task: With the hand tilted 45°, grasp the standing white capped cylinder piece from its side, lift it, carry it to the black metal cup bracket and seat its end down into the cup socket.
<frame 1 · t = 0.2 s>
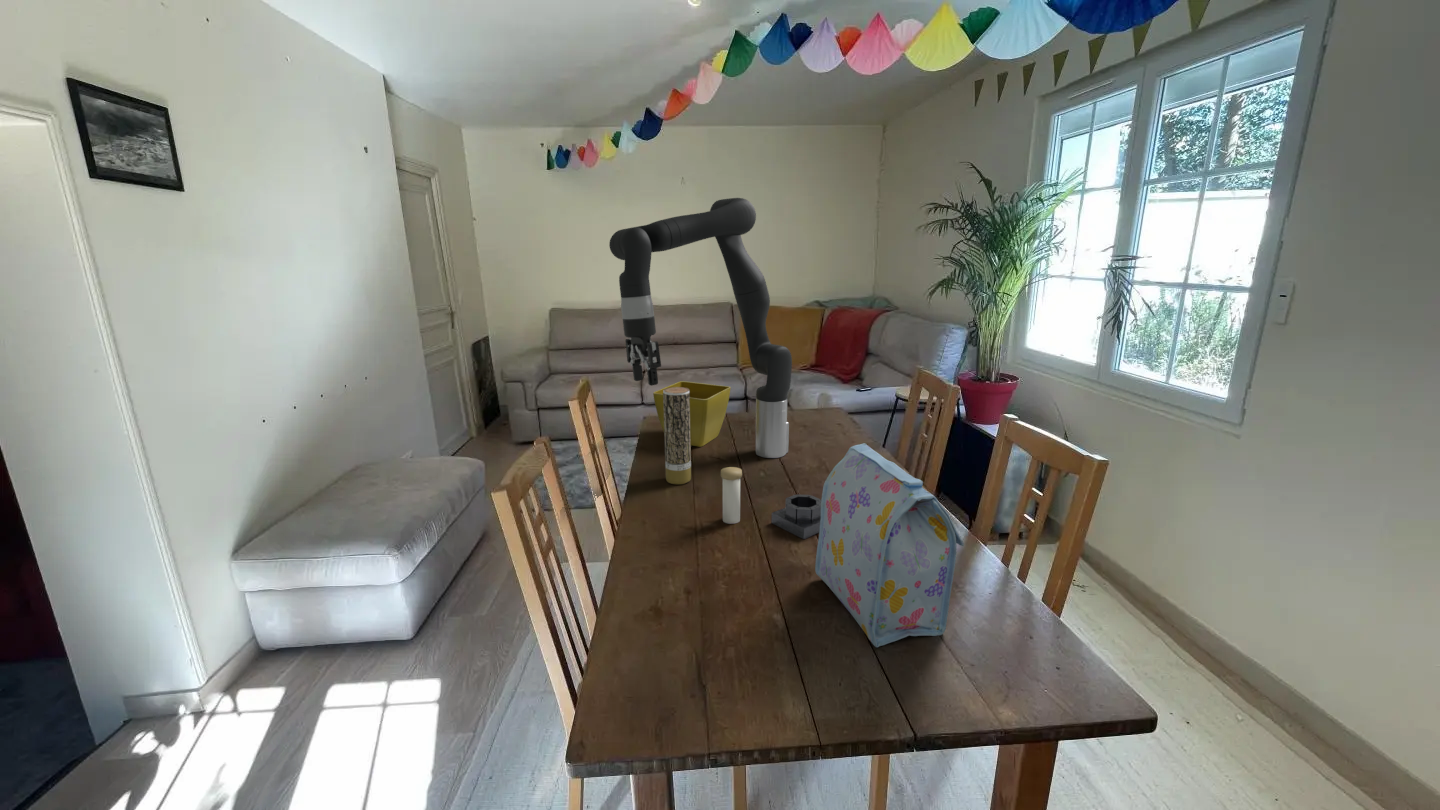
hand: (645, 382, 142), 29 cm above the table, tool pointing down, fingers open, 8 cm apart
white capped cylinder piece: (731, 519, 134), on the table
flower pot: (693, 439, 191), on the table
cup bracket: (802, 524, 132), on the table
paper tube: (678, 481, 157), on the table
lunch bag: (880, 606, 102), on the table
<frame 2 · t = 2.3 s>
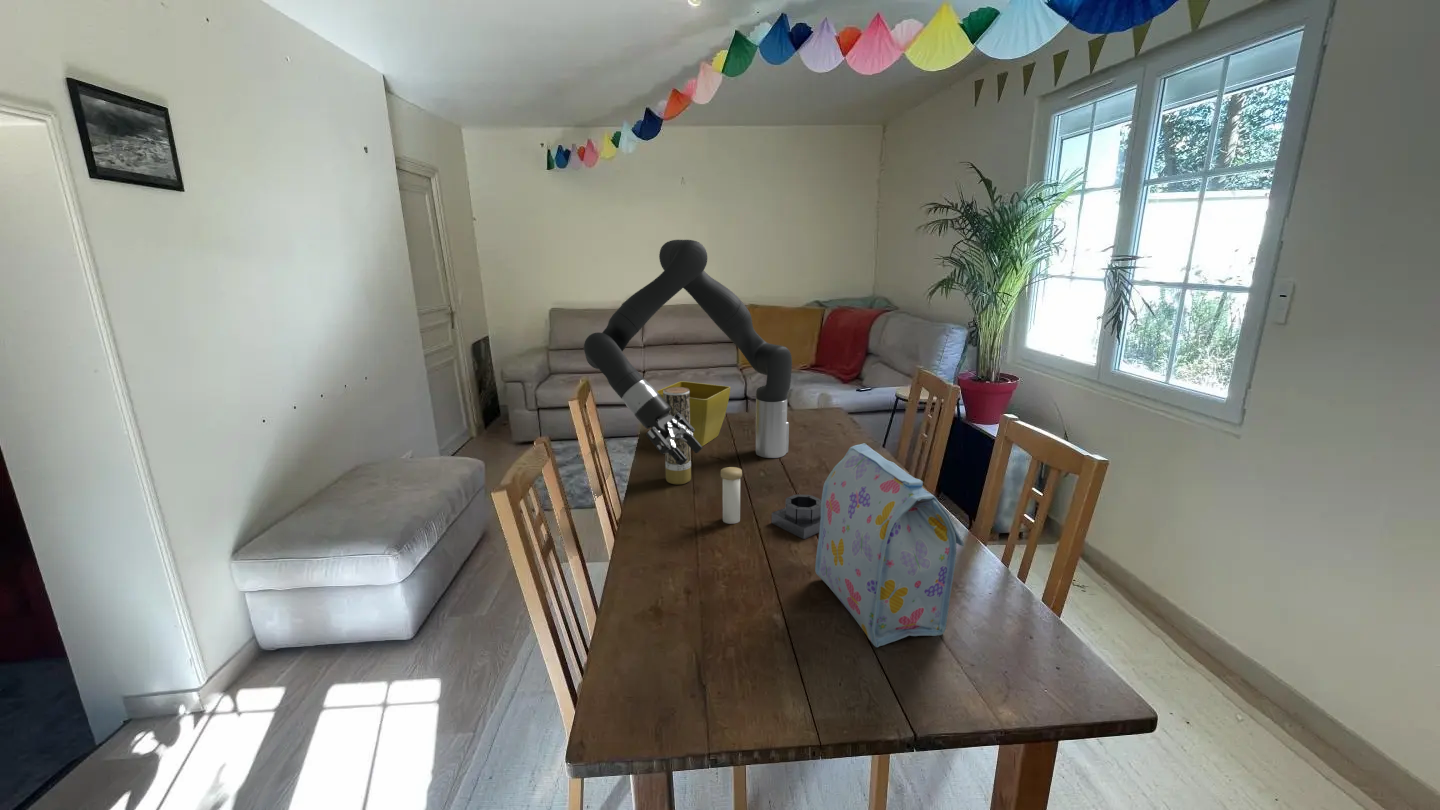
hand: (692, 456, 134), 14 cm above the table, tool tilted 45°, fingers open, 8 cm apart
nothing on the table moved.
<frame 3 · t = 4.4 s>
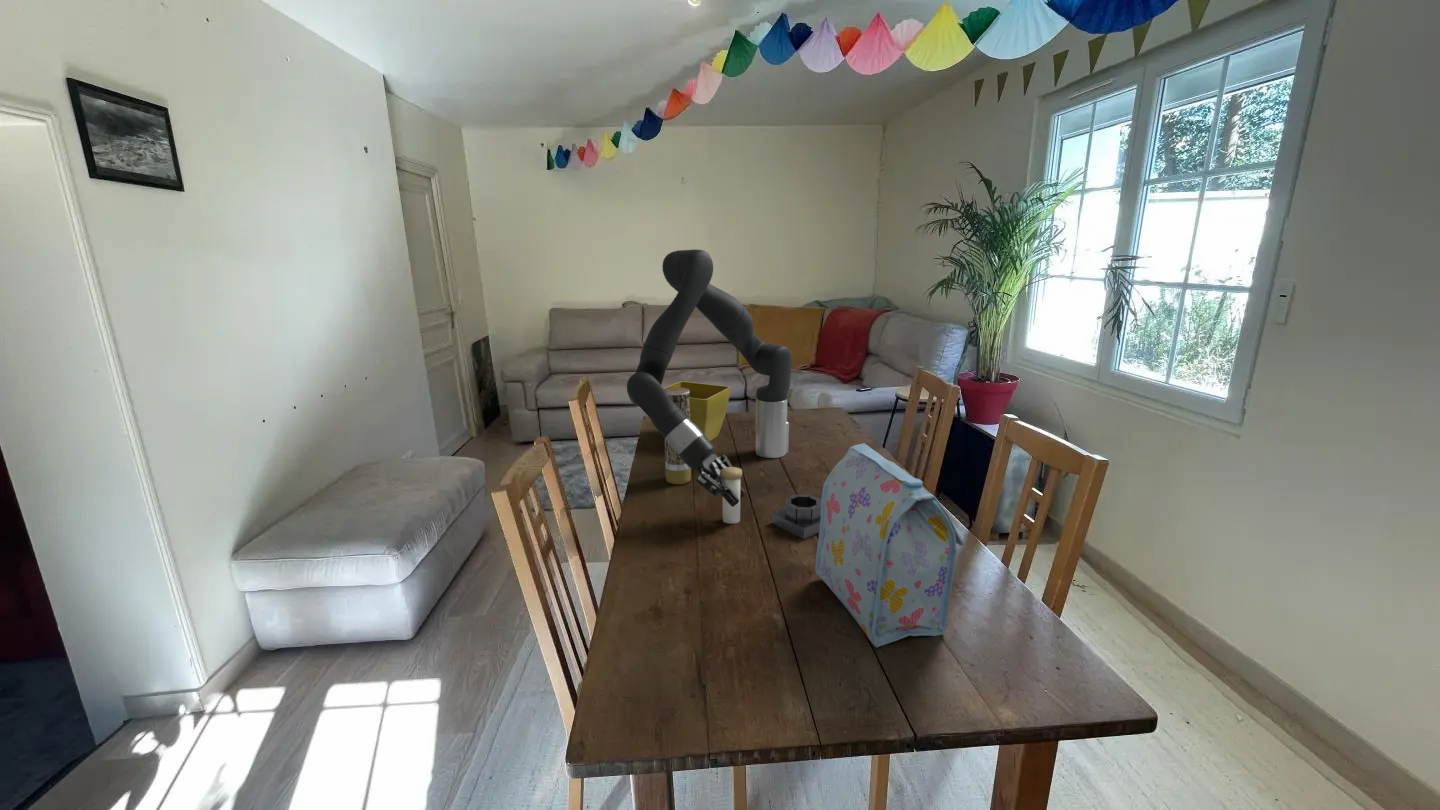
hand: (739, 499, 132), 5 cm above the table, tool tilted 45°, fingers closed on white capped cylinder piece, 4 cm apart
white capped cylinder piece: (731, 519, 134), on the table, touching gripper
everything else where it was.
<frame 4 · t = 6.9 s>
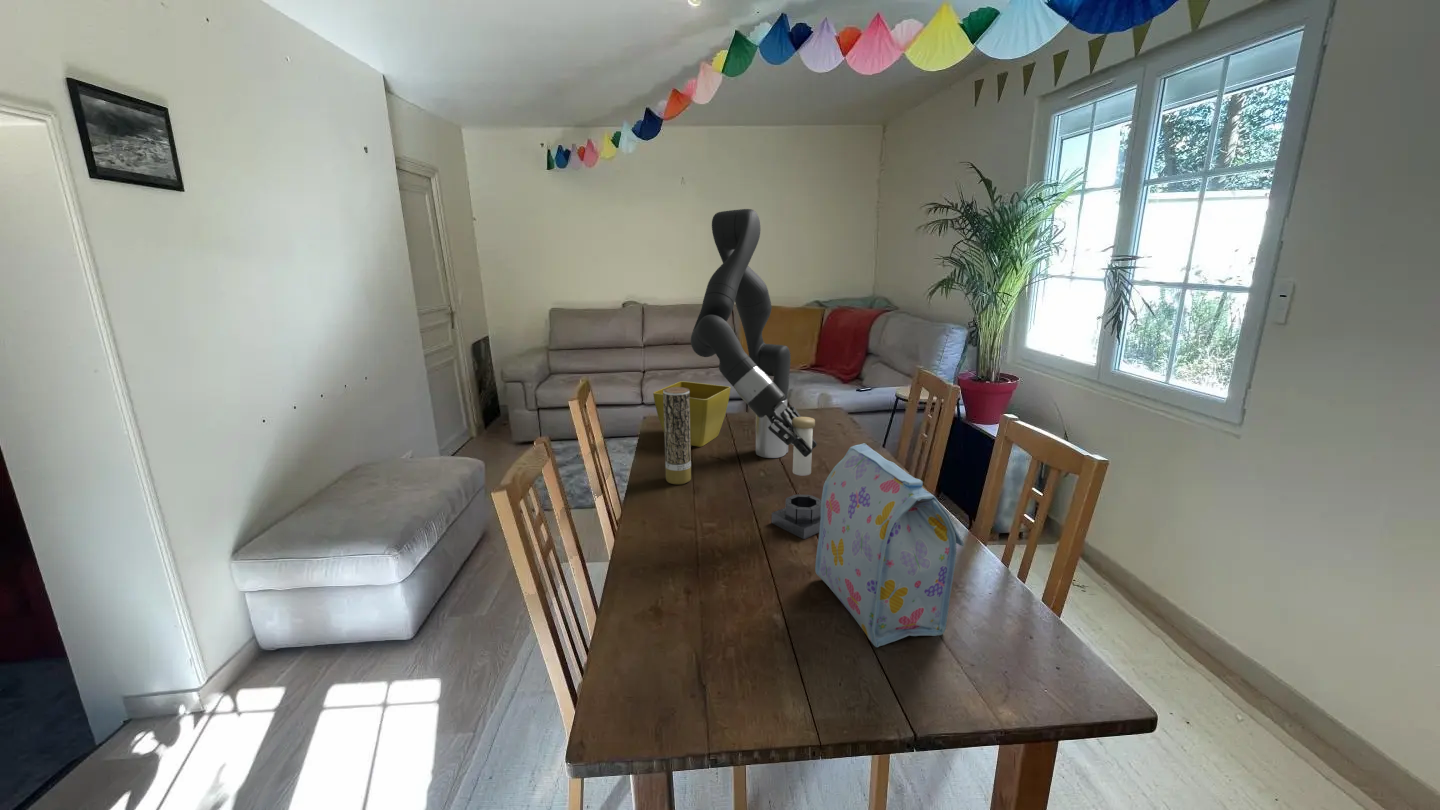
hand: (811, 450, 127), 18 cm above the table, tool tilted 45°, fingers closed on white capped cylinder piece, 4 cm apart
white capped cylinder piece: (801, 472, 129), point 13 cm above the table, touching gripper
everything else where it was.
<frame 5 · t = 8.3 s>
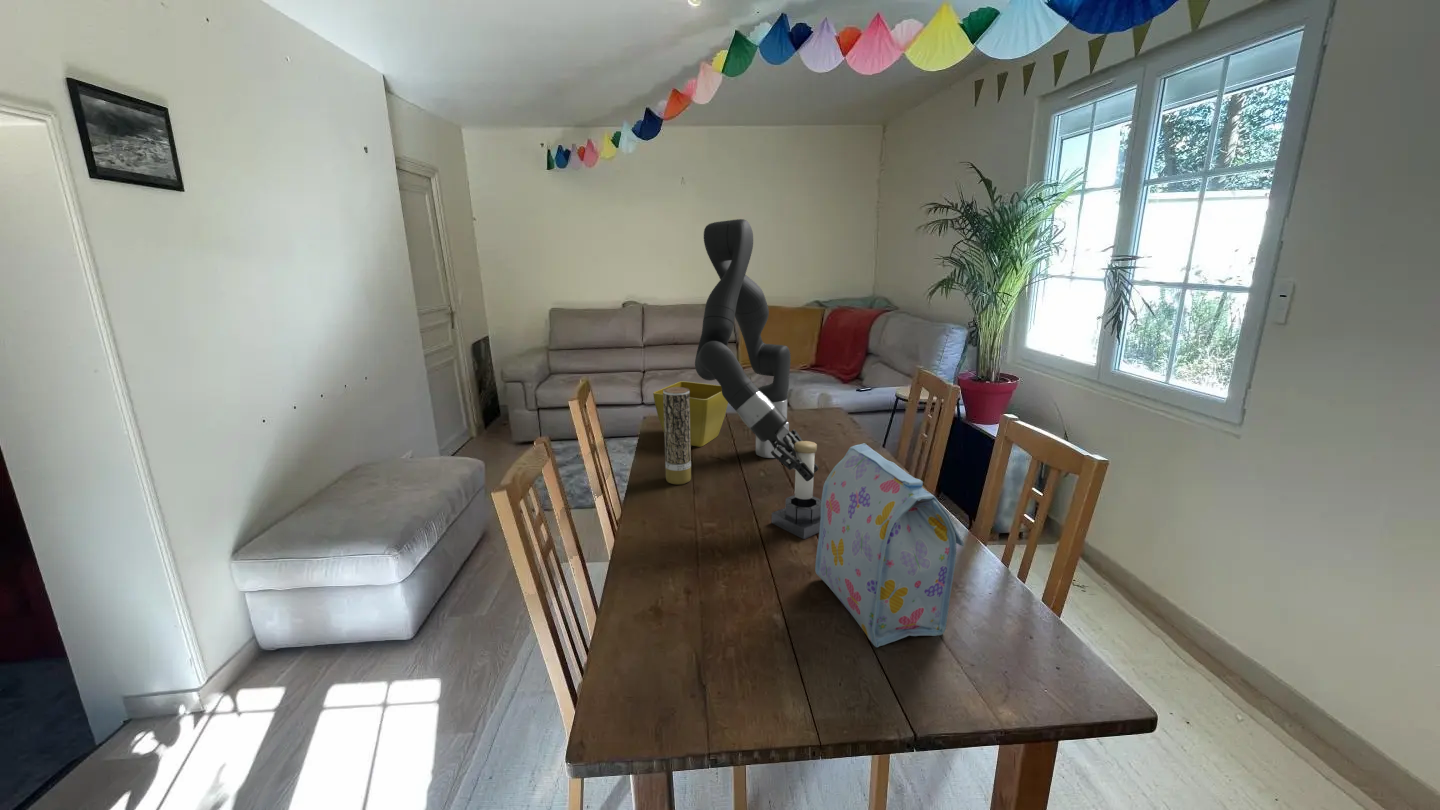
hand: (813, 474, 128), 12 cm above the table, tool tilted 45°, fingers closed on white capped cylinder piece, 4 cm apart
white capped cylinder piece: (803, 495, 130), point 7 cm above the table, touching gripper
everything else where it was.
when the fingers open (10 cm above the table, at t = 9.3 s): white capped cylinder piece drops 2 cm, resting on cup bracket.
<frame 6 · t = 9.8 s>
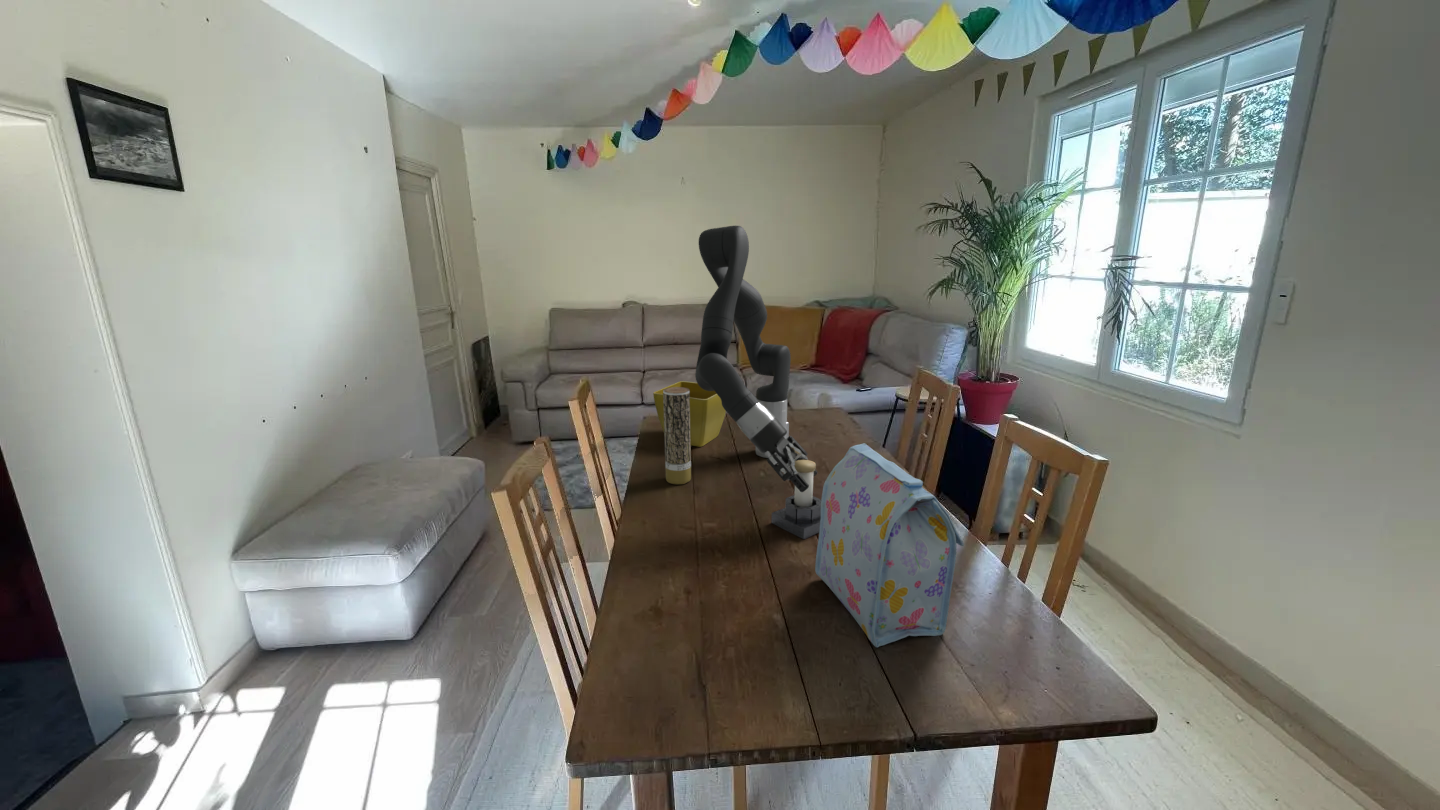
hand: (810, 482, 129), 10 cm above the table, tool tilted 45°, fingers open, 8 cm apart
white capped cylinder piece: (802, 513, 131), point 3 cm above the table, touching cup bracket
everything else where it was.
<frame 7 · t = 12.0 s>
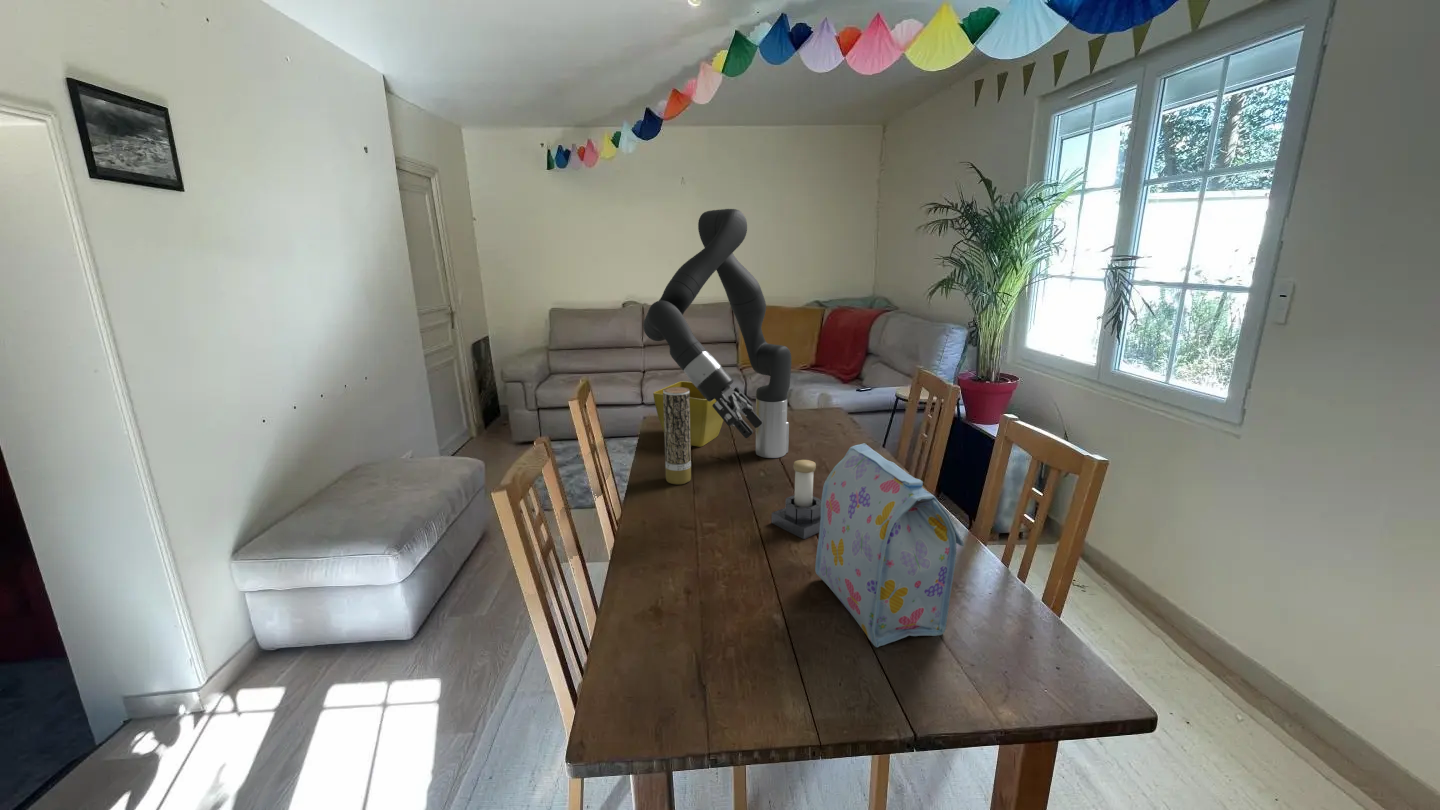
hand: (755, 430, 131), 21 cm above the table, tool tilted 45°, fingers open, 8 cm apart
nothing on the table moved.
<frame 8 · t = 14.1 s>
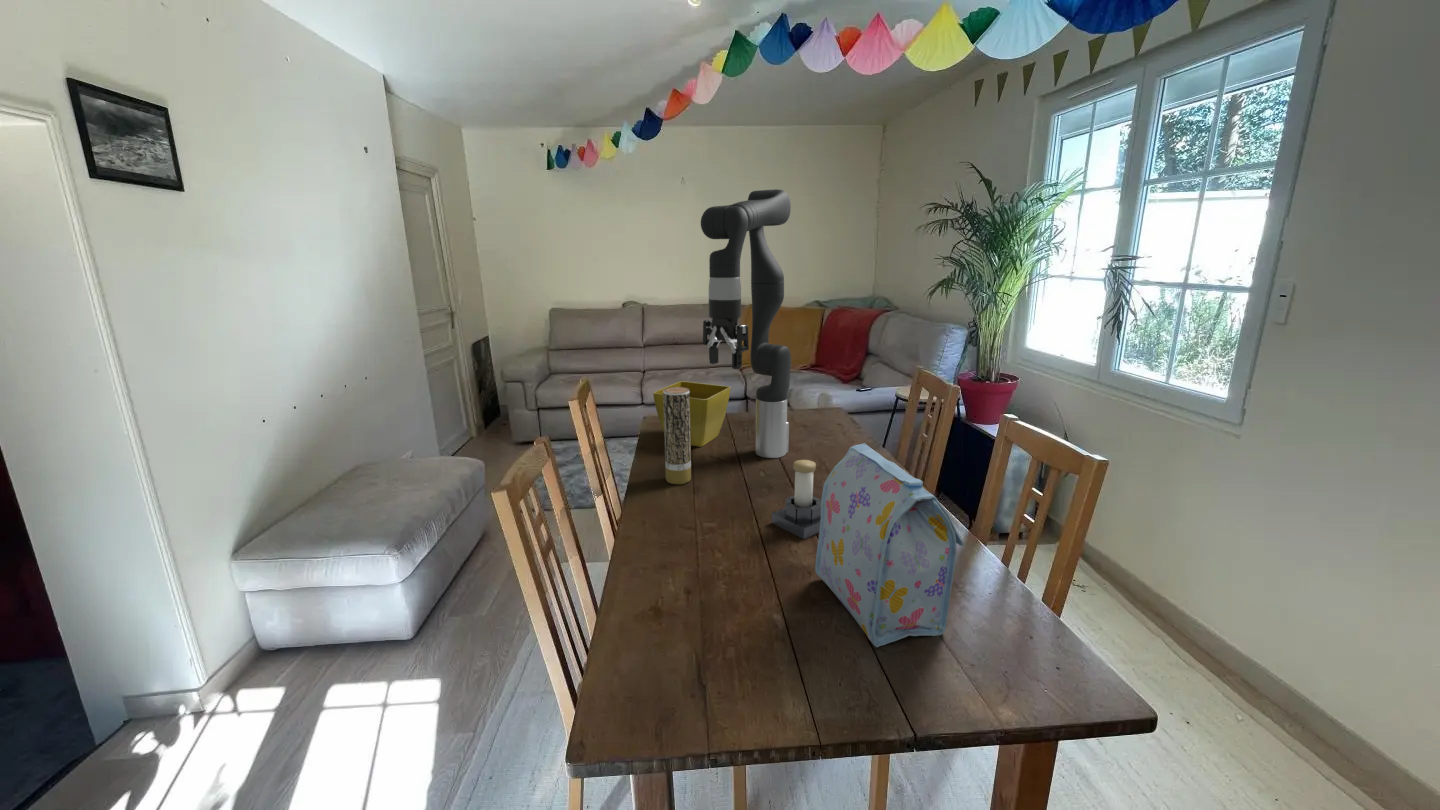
hand: (725, 366, 140), 33 cm above the table, tool pointing down, fingers open, 8 cm apart
nothing on the table moved.
at the end: white capped cylinder piece 0.2 cm off-centre on the cup bracket, point 2.5 cm above the cup bracket's base; white capped cylinder piece tilted 0°; the gripper is holding nothing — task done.
